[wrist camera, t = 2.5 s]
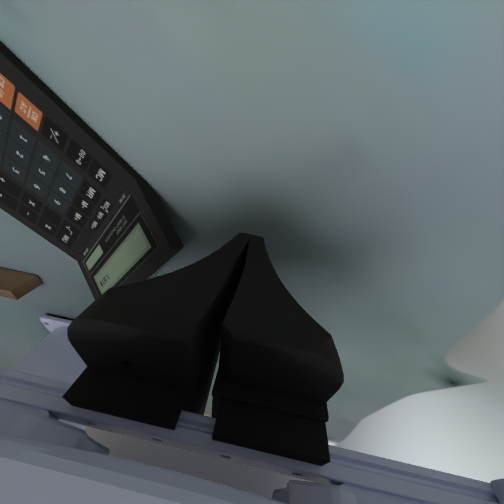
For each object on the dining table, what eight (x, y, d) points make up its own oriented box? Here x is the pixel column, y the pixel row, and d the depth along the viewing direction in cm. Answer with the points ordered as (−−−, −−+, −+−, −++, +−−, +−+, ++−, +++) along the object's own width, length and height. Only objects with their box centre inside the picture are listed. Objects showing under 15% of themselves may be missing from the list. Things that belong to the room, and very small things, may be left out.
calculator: (1, 37, 8) (-120, -2, 6) (199, 228, 12) (177, 253, 10) (-19, 179, 12) (-94, 192, 10) (132, 287, 16) (105, 315, 14)
